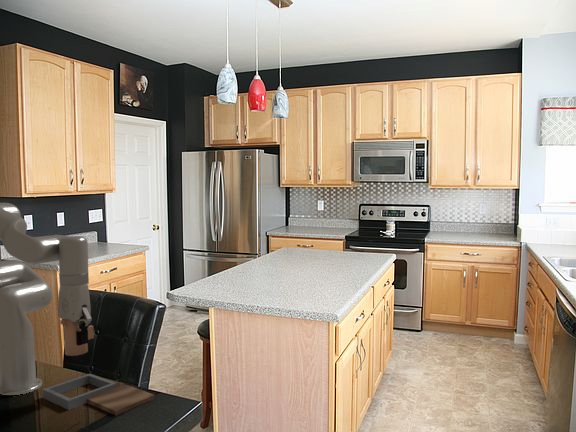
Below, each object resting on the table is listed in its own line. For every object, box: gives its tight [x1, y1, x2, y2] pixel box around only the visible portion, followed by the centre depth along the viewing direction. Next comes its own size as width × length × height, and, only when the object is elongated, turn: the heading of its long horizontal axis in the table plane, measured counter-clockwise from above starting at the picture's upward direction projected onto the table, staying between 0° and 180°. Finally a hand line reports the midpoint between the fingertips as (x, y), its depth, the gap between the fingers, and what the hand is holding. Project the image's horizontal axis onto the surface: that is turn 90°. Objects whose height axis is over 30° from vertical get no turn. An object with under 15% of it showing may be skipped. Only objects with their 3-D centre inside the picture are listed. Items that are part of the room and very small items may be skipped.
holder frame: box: [42, 373, 118, 411], centre depth 135 cm, size 14×14×2 cm
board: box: [86, 383, 156, 416], centre depth 130 cm, size 14×12×1 cm
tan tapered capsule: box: [60, 317, 95, 357], centre depth 135 cm, size 6×9×10 cm, turn 143°
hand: (76, 341), depth 135 cm, fingers closed on tan tapered capsule, 6 cm apart
